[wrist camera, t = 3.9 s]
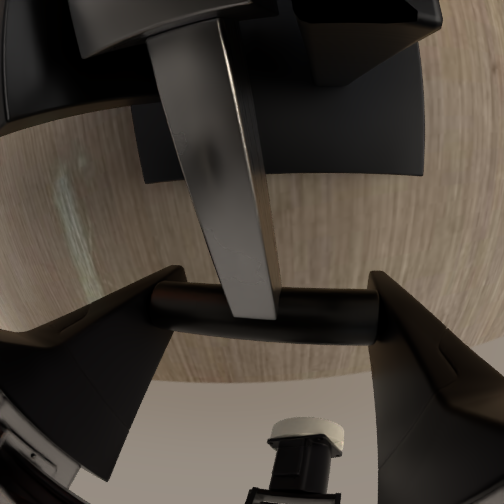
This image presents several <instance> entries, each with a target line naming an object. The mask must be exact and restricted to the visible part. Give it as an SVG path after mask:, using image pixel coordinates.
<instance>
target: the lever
mask: <svg viewBox="0 0 504 504" xmlns="http://www.w3.org/2000/svg"><path fill="white" fill-rule="evenodd" d="M68 5H69V9H70V14H71V19H72V23H73V27H74V31H75V36H76V39H77V43H78V47H79V51H80V55H81V58H82V59H87V58H90V57H94V56H97V55H100V54H104V53H107V52H111V51H114V50H118V49H122V48H126V47H130V46H135V45H139V44H144V43H146V47H147V50H148V54H149V58H150V62H151V66H152V70H153V73H154V77H155V81H156V84H157V88H158V91H159V95H160V99H161V102H162V106H163V109H164V112H165V116H166V119H167V123H168V126H169V129H170V133H171V136H172V139H173V143H174V146H175V149H176V153H177V156H178V159H179V162H180V165H181V169H182V172H183V175H184V178H185V181H186V184H187V187H188V190H189V193H190V196H191V200H192V203H193V206H194V209H195V212H196V215H197V218H198V220H199V223H200V226H201V229H202V232H203V235H204V238H205V241H206V244H207V247H208V249H209V252H210V255H211V258H212V261H213V264H214V266H215V269H216V272H217V275H218V278H219V280H220V283H221V284H206V283H190V282H175V281H162V282H159V283H158V284H157V285H156V286H155V287H154V289H153V291H152V294H151V297H150V304H149V310H150V316H151V320H152V322H153V323H154V325H155V326H156V327H158V328H160V329H165V330H171V331H178V332H185V333H192V334H199V335H207V336H215V337H224V338H233V339H243V340H254V341H266V342H279V343H295V344H316V345H374V344H375V343H376V340H377V338H378V334H379V329H380V320H381V305H380V297H379V294H378V291H377V290H375V289H328V288H292V287H282V284H281V277H280V269H279V262H278V255H277V247H276V240H275V233H274V226H273V220H272V213H271V206H270V199H269V193H268V186H267V180H266V174H265V167H264V161H263V155H262V149H261V142H260V136H259V130H258V125H257V119H256V113H255V107H254V101H253V96H252V90H251V85H250V79H249V74H248V68H247V63H246V57H245V52H244V47H243V42H242V37H241V31H240V26H239V22H238V21H244V20H251V19H258V18H266V17H274V16H278V15H279V11H278V5H277V0H68Z"/></svg>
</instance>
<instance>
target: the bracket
mask: <svg viewBox="0 0 504 504" xmlns="http://www.w3.org/2000/svg"><path fill="white" fill-rule="evenodd" d="M277 5H278V11H279V15H278V16H274V17H266V18H258V19H251V20H244V21H238V22H239V26H240V31H241V37H242V42H243V47H244V52H245V57H246V63H247V68H248V74H249V79H250V85H251V90H252V96H253V101H254V107H255V113H256V119H257V125H258V130H259V136H260V142H261V149H262V155H263V161H264V167H265V174H285V173H365V174H391V175H409V176H423V172H424V149H425V113H424V91H423V78H422V67H421V58H420V50H419V43H418V41H420V40H422V39H423V38H425V37H427V36H429V35H431V34H432V33H434V32H436V31H438V30H440V29H441V26H442V22H443V17H442V12H441V8H440V4H439V0H277ZM125 106H131V112H132V118H133V124H134V130H135V136H136V141H137V147H138V152H139V157H140V162H141V167H142V172H143V177H144V181H145V184H150V183H159V182H168V181H177V180H185V178H184V175H183V172H182V169H181V165H180V162H179V159H178V156H177V153H176V149H175V146H174V143H173V139H172V136H171V133H170V129H169V126H168V123H167V119H166V116H165V112H164V109H163V106H162V102H161V99H160V95H159V91H158V88H157V84H156V81H155V77H154V73H153V70H152V66H151V62H150V58H149V54H148V50H147V47H146V43H144V44H139V45H135V46H130V47H126V48H122V49H118V50H114V51H111V52H107V53H104V54H100V55H97V56H94V57H90V58H87V59H82V58H81V55H80V51H79V47H78V43H77V39H76V36H75V31H74V27H73V23H72V19H71V14H70V9H69V5H68V0H0V137H2V136H4V135H7V134H10V133H13V132H16V131H19V130H22V129H26V128H29V127H32V126H36V125H39V124H43V123H46V122H50V121H54V120H58V119H62V118H66V117H71V116H75V115H80V114H84V113H89V112H95V111H100V110H106V109H112V108H118V107H125Z"/></svg>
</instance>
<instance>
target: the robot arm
mask: <svg viewBox="0 0 504 504" xmlns="http://www.w3.org/2000/svg"><path fill="white" fill-rule="evenodd" d="M162 281H175V282H187V279H186V275H185V271H184V268H183V267H182V266H180V265H171V266H168V267H166V268H164V269H162V270H160V271H158V272H155V273H153V274H151V275H149V276H147V277H145V278H143V279H140V280H138V281H136V282H134V283H132V284H130V285H128V286H126V287H123V288H121V289H119V290H117V291H115V292H113V293H111V294H109V295H107V296H105V297H102V298H100V299H98V300H96V301H94V302H92V303H91V304H88V305H86V306H84V307H82V308H80V309H77V310H75V311H73V312H71V313H69V314H67V315H64V316H62V317H60V318H58V319H55V320H53V321H50V322H48V323H46V324H43V325H41V326H39V327H36V328H34V329H32V330H29V331H25V332H11V331H7V330H2V329H0V504H90V503H88V502H87V501H85V500H83V499H82V498H80V497H79V496H77V495H76V494H74V493H73V492H71V491H70V490H69V487H70V485H71V484H72V482H73V480H74V478H75V476H76V475H77V473H78V471H79V469H80V468H83V469H84V470H86V471H88V472H90V473H91V474H93V475H95V476H97V477H98V478H100V479H102V480H104V481H106V482H108V480H109V479H110V476H111V474H112V471H113V469H114V466H115V464H116V461H117V459H118V457H119V454H120V452H121V449H122V447H123V444H124V442H125V440H126V437H127V434H128V433H129V429H130V428H131V425H132V423H133V421H134V418H135V416H136V414H137V411H138V409H139V407H140V404H141V402H142V400H143V398H144V395H145V393H146V391H147V389H148V386H149V384H150V382H151V380H152V378H153V375H154V373H155V371H156V369H157V367H158V364H159V362H160V360H161V358H162V356H163V354H164V351H165V349H166V347H167V345H168V343H169V341H170V339H171V337H172V334H173V332H174V331H171V330H165V329H160V328H158V327H156V326H155V325H154V323H153V322H152V320H151V316H150V310H149V304H150V297H151V294H152V291H153V289H154V287H155V286H156V285H157V284H158V283H159V282H162ZM367 289H375V290H377V291H378V294H379V297H380V305H381V320H380V329H379V334H378V338H377V340H376V343H375V344H374V345H368V348H369V355H370V363H371V371H372V379H373V388H374V399H375V410H376V425H377V444H378V469H379V470H378V504H504V377H503V376H502V375H501V374H500V373H499V372H498V371H497V370H495V369H494V368H493V367H492V366H491V365H489V364H488V363H487V362H486V361H485V360H483V359H482V358H481V357H479V356H478V355H477V354H476V353H475V352H474V351H473V350H471V349H470V348H469V347H468V346H467V345H465V344H464V343H463V342H462V341H461V340H460V339H459V338H458V337H457V336H456V335H455V334H453V333H452V332H451V331H450V330H449V329H448V328H447V329H446V326H445V325H444V324H443V323H442V322H441V321H439V320H438V319H437V318H436V317H435V316H434V315H433V314H432V313H431V312H430V311H428V310H427V309H426V308H425V307H424V306H423V305H422V304H421V303H420V302H418V301H417V300H416V299H415V298H414V297H413V296H412V295H410V294H409V293H408V292H407V291H406V290H405V289H404V288H402V287H401V286H400V285H399V284H398V283H397V282H395V281H394V280H393V279H392V278H391V277H389V276H388V275H387V274H386V273H385V272H383V271H370V273H369V279H368V286H367ZM267 444H269V445H270V446H271V447H273V448H274V449H275V450H277V453H276V458H275V462H274V466H273V471H272V477H271V481H270V485H269V490H266V489H259V488H256V487H253V488H252V489H250V490H249V493H248V496H247V499H246V502H245V504H278V503H285V504H340V500H341V493H336V494H326V493H327V487H328V480H329V472H330V463H331V458H334V457H340V456H342V452H341V450H340V449H339V448H338V447H337V446H336V445H335V444H334V443H333V442H332V441H331V440H330V439H329V438H328V437H327V436H326V435H325V434H314V435H305V436H295V437H283V438H269V439H268V440H267ZM263 501H267V502H263ZM270 502H275V503H270Z"/></svg>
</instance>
